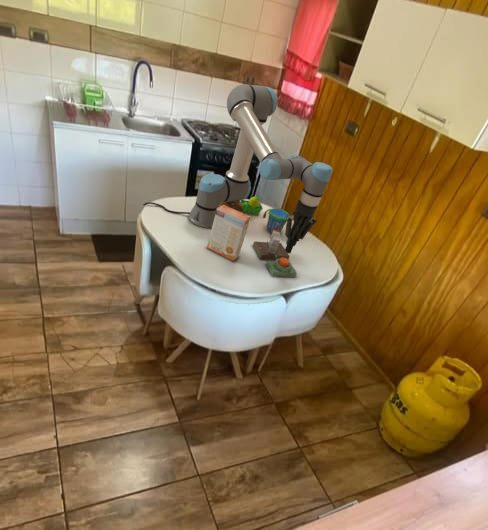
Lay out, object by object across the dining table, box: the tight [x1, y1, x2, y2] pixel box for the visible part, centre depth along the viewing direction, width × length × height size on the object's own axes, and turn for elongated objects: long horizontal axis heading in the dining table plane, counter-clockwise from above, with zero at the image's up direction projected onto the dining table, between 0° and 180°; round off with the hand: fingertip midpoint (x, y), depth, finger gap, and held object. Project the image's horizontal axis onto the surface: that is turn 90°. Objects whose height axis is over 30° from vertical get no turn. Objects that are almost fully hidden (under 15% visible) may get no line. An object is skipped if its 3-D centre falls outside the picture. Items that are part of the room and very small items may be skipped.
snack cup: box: [262, 207, 291, 233], centre depth 194 cm, size 16×10×10 cm
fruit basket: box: [241, 195, 264, 216], centre depth 205 cm, size 11×9×11 cm
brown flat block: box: [252, 240, 290, 261], centre depth 177 cm, size 14×13×3 cm
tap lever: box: [268, 230, 281, 254], centre depth 174 cm, size 9×3×8 cm, turn 169°
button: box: [278, 258, 291, 267], centre depth 165 cm, size 4×4×2 cm
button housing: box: [265, 259, 298, 278], centre depth 166 cm, size 11×8×4 cm
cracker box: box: [206, 205, 252, 262], centre depth 165 cm, size 14×6×21 cm, turn 56°
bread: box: [219, 201, 243, 213], centre depth 203 cm, size 19×11×10 cm, turn 19°
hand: (287, 251), depth 162 cm, fingers closed
